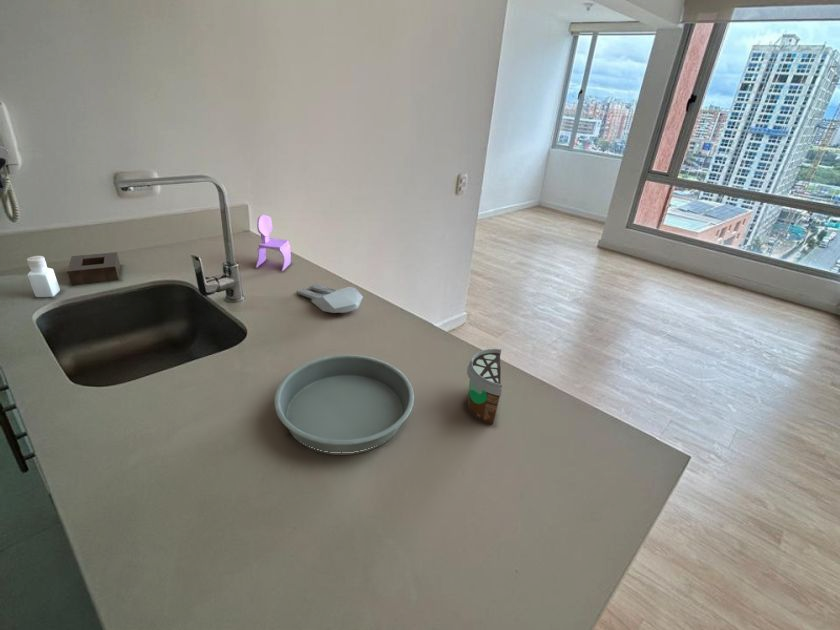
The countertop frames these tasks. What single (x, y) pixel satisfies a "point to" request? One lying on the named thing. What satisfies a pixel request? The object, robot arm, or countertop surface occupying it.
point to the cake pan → (344, 403)
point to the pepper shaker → (42, 277)
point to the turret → (334, 298)
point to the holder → (94, 268)
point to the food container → (484, 384)
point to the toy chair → (271, 242)
